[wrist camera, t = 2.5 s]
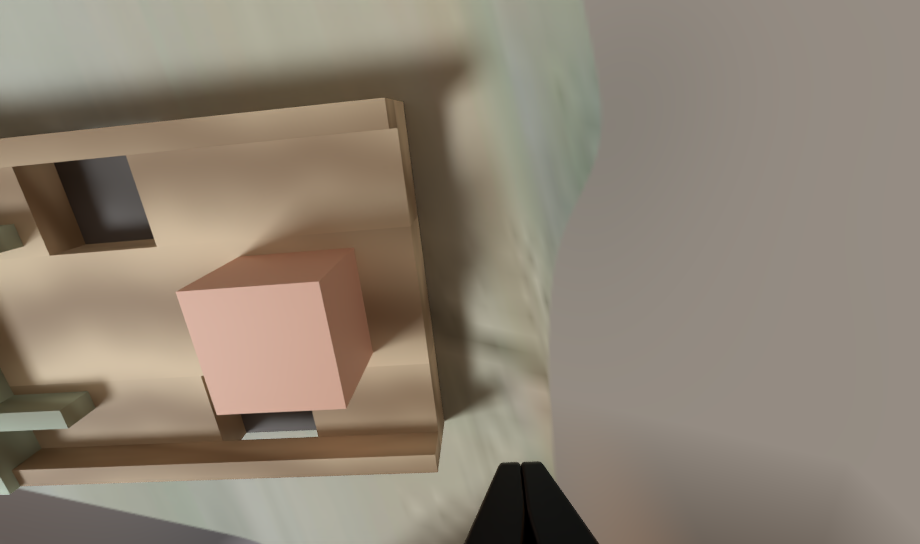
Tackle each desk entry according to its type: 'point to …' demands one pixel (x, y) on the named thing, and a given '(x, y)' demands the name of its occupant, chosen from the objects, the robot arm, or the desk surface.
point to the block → (280, 331)
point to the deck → (186, 260)
